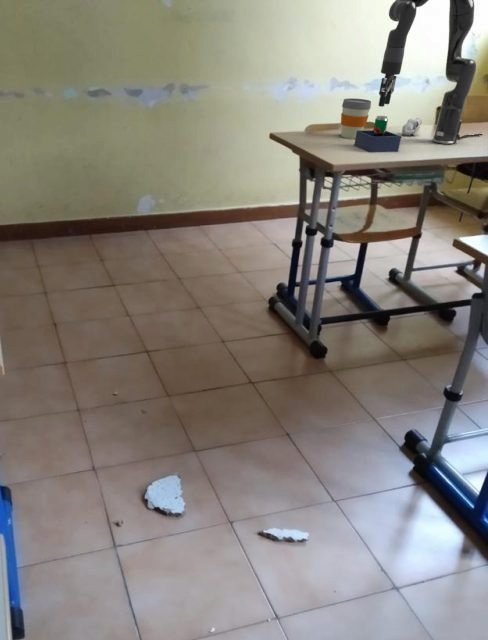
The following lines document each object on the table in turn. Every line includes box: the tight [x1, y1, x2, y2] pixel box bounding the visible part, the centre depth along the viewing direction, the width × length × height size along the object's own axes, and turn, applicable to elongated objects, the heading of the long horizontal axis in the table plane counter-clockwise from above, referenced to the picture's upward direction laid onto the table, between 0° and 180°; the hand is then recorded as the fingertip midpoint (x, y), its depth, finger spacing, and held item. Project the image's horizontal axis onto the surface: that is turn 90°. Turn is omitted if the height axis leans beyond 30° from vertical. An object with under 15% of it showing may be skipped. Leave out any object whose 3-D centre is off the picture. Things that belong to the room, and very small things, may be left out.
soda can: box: [372, 115, 389, 137], centre depth 254 cm, size 5×5×12 cm
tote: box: [353, 129, 402, 153], centre depth 256 cm, size 13×13×6 cm
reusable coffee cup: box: [340, 98, 372, 140], centre depth 273 cm, size 13×13×15 cm
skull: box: [401, 117, 423, 137], centre depth 284 cm, size 8×9×12 cm
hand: (383, 105), depth 249 cm, fingers open, 8 cm apart
